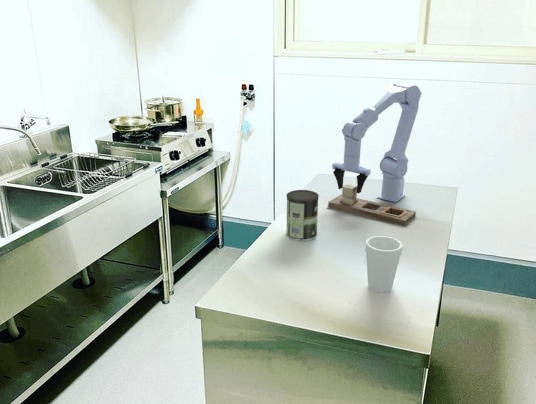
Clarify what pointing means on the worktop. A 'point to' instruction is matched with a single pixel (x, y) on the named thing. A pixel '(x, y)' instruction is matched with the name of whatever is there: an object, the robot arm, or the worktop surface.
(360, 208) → the brown slotted board
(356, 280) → the worktop surface
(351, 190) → the peg
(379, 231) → the worktop surface
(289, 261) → the worktop surface
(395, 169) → the robot arm
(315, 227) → the coffee can
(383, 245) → the foam cup
